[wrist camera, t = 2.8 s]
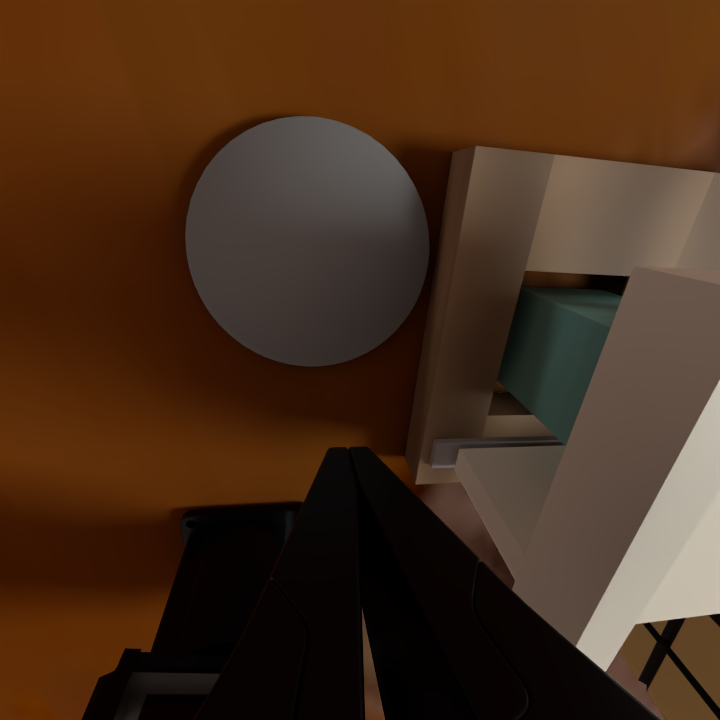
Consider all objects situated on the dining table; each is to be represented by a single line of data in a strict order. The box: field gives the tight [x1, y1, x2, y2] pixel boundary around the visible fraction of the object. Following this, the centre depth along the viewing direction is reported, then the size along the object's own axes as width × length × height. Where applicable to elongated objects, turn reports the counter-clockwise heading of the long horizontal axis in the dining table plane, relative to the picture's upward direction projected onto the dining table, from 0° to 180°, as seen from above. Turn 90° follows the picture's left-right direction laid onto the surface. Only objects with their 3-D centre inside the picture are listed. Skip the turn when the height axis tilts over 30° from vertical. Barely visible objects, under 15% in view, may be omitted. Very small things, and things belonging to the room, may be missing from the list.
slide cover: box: [455, 266, 720, 672], centre depth 11 cm, size 10×10×8 cm
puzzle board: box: [405, 146, 720, 484], centre depth 17 cm, size 24×14×2 cm, turn 86°
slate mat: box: [185, 116, 429, 367], centre depth 14 cm, size 9×9×1 cm
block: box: [497, 286, 623, 446], centre depth 14 cm, size 4×4×7 cm
